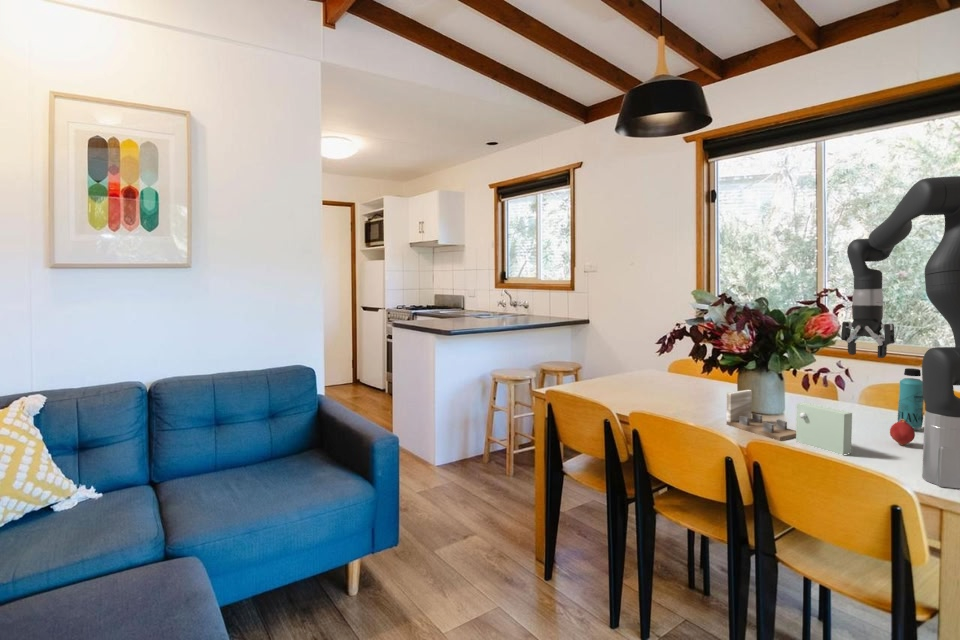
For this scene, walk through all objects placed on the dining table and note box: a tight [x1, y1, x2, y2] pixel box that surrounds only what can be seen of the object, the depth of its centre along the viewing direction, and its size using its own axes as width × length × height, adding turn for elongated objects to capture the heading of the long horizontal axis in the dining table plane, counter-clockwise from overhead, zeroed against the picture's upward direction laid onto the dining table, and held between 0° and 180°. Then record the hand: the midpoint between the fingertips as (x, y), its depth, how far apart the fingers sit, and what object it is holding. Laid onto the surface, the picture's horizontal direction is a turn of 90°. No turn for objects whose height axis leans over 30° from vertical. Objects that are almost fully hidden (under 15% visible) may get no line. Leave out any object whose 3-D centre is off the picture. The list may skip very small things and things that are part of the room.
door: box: [795, 402, 853, 456], centre depth 152 cm, size 14×4×12 cm, turn 23°
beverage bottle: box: [896, 367, 925, 429], centre depth 167 cm, size 6×7×20 cm
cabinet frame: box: [726, 389, 796, 441], centre depth 171 cm, size 20×10×11 cm, turn 23°
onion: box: [889, 419, 916, 446], centre depth 153 cm, size 6×6×8 cm
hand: (866, 356), depth 159 cm, fingers open, 8 cm apart
